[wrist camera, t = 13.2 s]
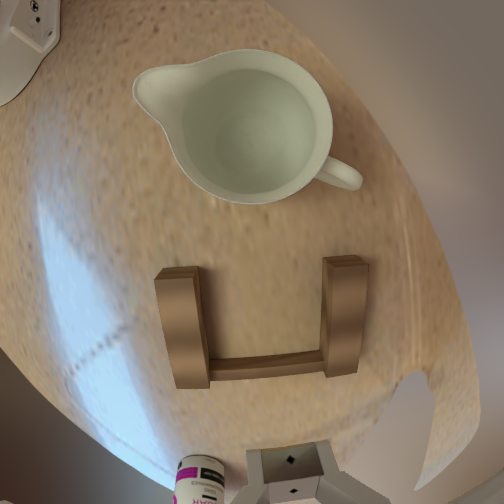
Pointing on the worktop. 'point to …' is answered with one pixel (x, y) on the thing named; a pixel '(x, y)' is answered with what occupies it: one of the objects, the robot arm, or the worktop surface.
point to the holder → (205, 369)
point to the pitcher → (245, 125)
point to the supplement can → (199, 481)
